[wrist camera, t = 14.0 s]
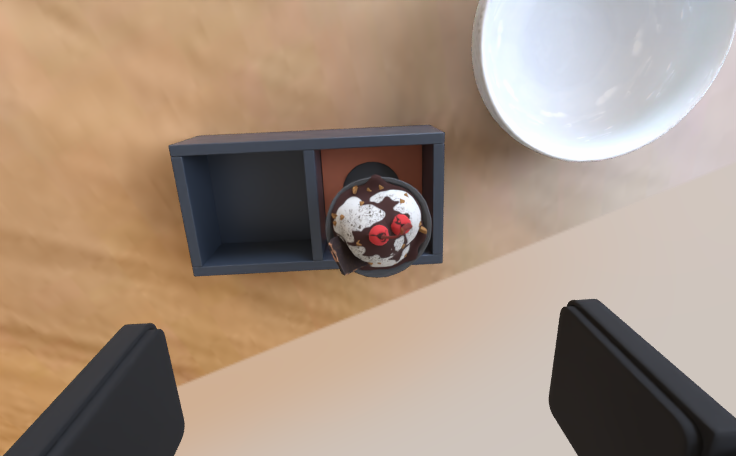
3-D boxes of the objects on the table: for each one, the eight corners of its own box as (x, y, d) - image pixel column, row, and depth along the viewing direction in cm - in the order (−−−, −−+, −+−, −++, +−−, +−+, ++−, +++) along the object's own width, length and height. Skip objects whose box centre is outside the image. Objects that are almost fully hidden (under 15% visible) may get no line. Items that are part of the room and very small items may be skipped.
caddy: (429, 237, 38) (442, 263, 33) (217, 248, 38) (193, 276, 32) (430, 124, 35) (445, 132, 29) (198, 135, 35) (167, 145, 29)
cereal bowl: (519, -127, 30) (568, -190, 23) (707, -24, 32) (800, -53, 25) (420, 103, 34) (436, 108, 28) (590, 177, 37) (642, 197, 30)
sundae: (413, 151, 34) (454, 196, 20) (408, 227, 37) (442, 317, 22) (333, 149, 34) (318, 193, 20) (333, 226, 36) (319, 316, 22)
